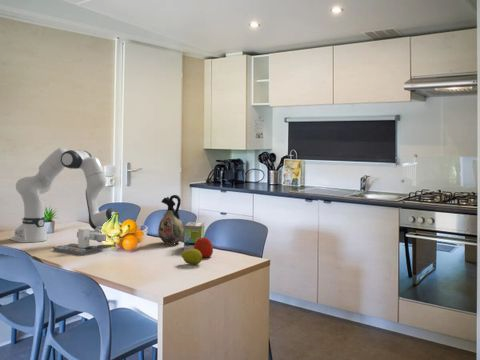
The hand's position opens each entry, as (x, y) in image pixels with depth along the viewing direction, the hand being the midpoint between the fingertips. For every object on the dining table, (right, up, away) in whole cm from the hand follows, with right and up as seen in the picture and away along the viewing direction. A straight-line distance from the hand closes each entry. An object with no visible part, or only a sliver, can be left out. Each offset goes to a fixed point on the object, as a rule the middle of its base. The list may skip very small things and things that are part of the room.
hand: (82, 237), depth 245 cm
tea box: (+59, -9, +16) cm, 61 cm away
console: (-4, -8, +3) cm, 9 cm away
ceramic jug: (+44, -8, +30) cm, 54 cm away
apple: (+66, -10, -4) cm, 66 cm away
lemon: (+62, -11, -22) cm, 66 cm away
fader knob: (0, -6, +1) cm, 6 cm away
